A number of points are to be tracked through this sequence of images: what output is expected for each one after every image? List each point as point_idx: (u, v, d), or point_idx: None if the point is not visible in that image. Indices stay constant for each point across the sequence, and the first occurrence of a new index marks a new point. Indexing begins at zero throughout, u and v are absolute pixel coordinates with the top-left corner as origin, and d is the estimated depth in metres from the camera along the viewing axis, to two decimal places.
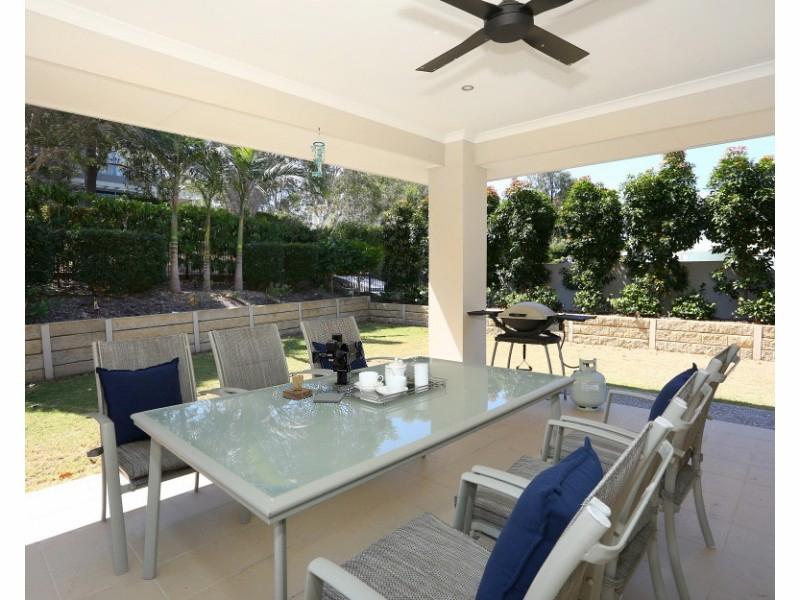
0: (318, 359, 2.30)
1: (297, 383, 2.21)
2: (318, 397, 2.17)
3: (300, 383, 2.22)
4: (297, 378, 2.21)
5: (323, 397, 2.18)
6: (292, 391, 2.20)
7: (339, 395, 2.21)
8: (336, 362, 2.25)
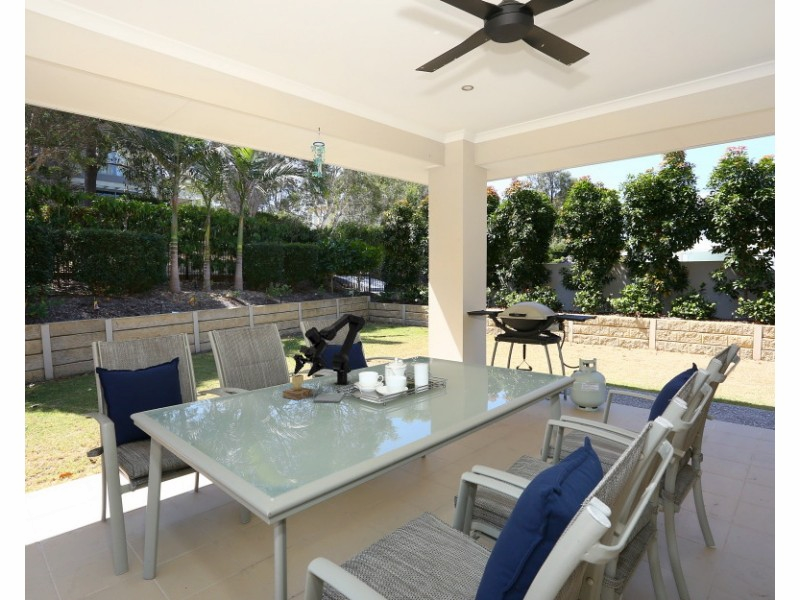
0: (299, 366, 2.30)
1: (297, 383, 2.21)
2: (318, 397, 2.17)
3: (300, 383, 2.22)
4: (297, 378, 2.21)
5: (323, 397, 2.18)
6: (292, 391, 2.20)
7: (339, 395, 2.21)
8: (312, 373, 2.23)
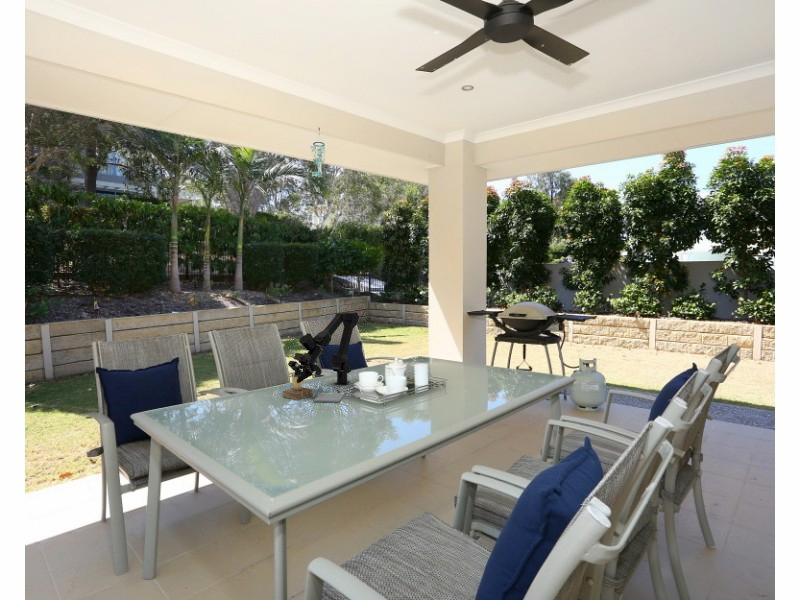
0: (298, 373, 2.25)
1: (297, 383, 2.21)
2: (318, 397, 2.17)
3: (300, 383, 2.22)
4: (297, 378, 2.21)
5: (323, 397, 2.18)
6: (292, 391, 2.20)
7: (339, 395, 2.21)
8: (302, 379, 2.22)
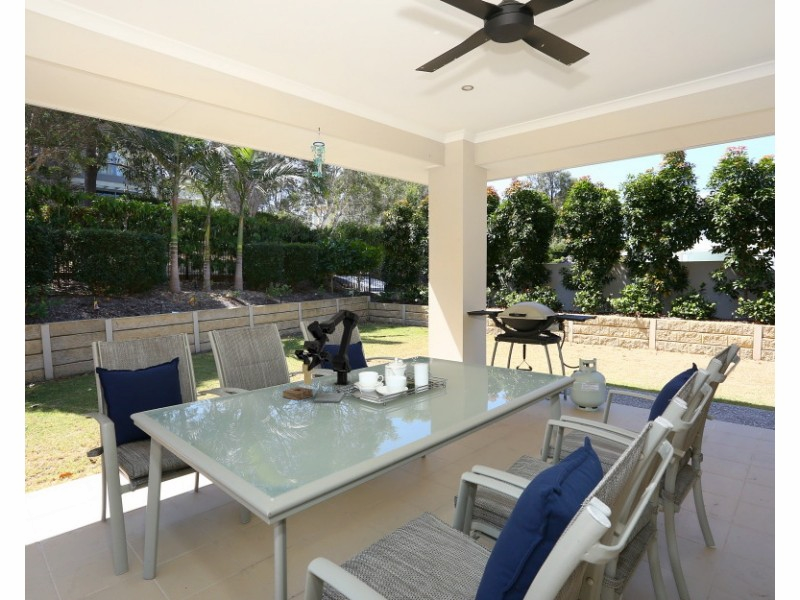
0: (307, 362, 2.22)
1: (308, 371, 2.18)
2: (318, 397, 2.17)
3: (310, 371, 2.20)
4: (308, 366, 2.18)
5: (323, 397, 2.18)
6: (292, 391, 2.20)
7: (339, 395, 2.21)
8: (312, 367, 2.19)
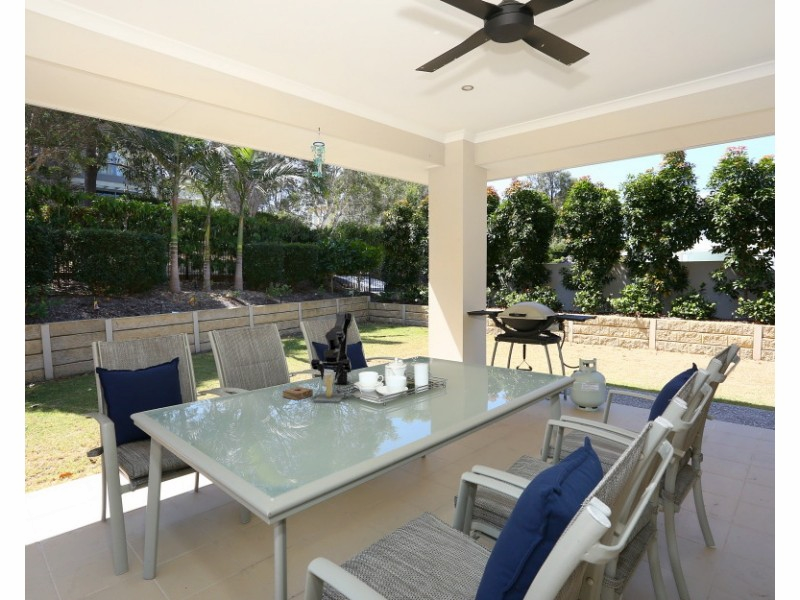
0: (323, 371, 2.20)
1: (331, 383, 2.16)
2: (318, 397, 2.17)
3: (332, 383, 2.18)
4: (331, 378, 2.16)
5: (323, 397, 2.18)
6: (292, 391, 2.20)
7: (339, 395, 2.21)
8: (337, 376, 2.18)
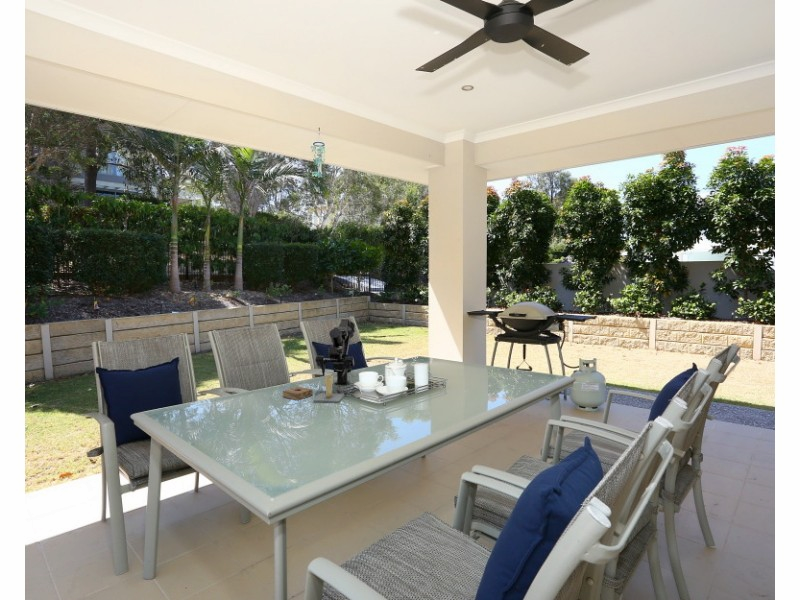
0: (324, 367, 2.28)
1: (331, 383, 2.16)
2: (318, 397, 2.17)
3: (332, 383, 2.18)
4: (331, 378, 2.16)
5: (323, 397, 2.18)
6: (292, 391, 2.20)
7: (339, 395, 2.21)
8: (344, 372, 2.26)
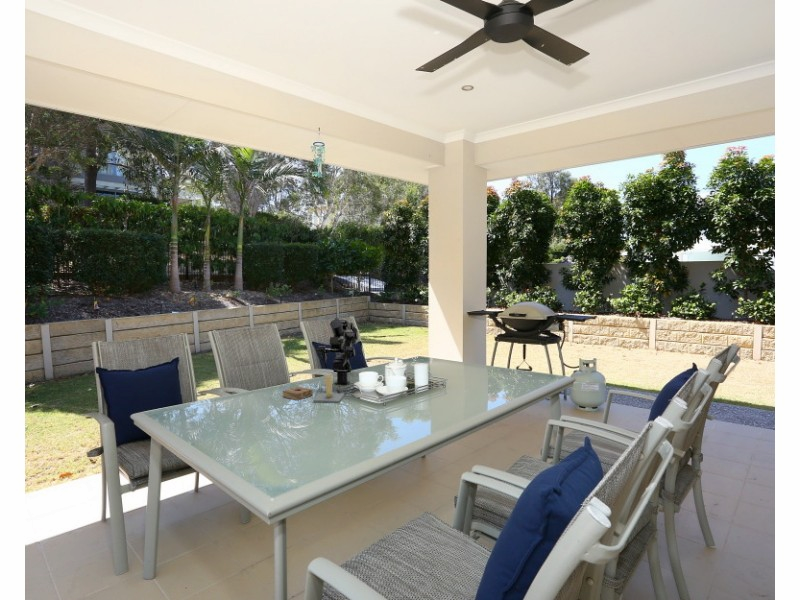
0: (325, 357, 2.33)
1: (331, 383, 2.16)
2: (318, 397, 2.17)
3: (332, 383, 2.18)
4: (331, 378, 2.16)
5: (323, 397, 2.18)
6: (292, 391, 2.20)
7: (339, 395, 2.21)
8: (345, 362, 2.31)
